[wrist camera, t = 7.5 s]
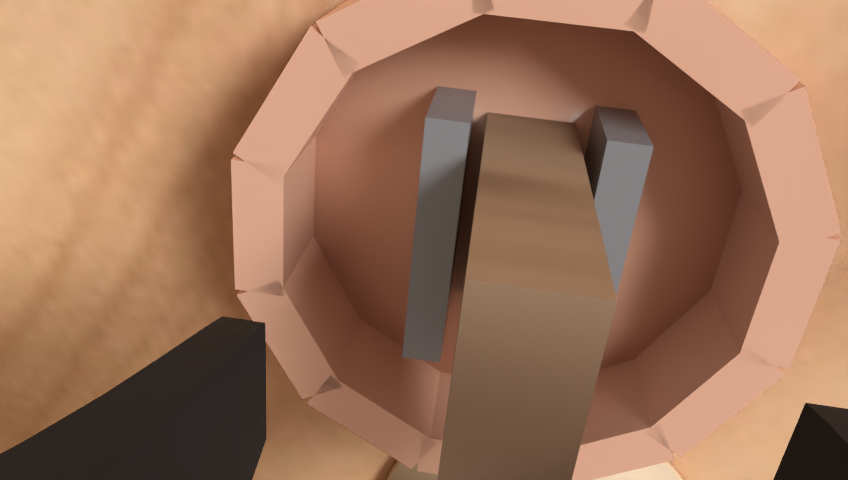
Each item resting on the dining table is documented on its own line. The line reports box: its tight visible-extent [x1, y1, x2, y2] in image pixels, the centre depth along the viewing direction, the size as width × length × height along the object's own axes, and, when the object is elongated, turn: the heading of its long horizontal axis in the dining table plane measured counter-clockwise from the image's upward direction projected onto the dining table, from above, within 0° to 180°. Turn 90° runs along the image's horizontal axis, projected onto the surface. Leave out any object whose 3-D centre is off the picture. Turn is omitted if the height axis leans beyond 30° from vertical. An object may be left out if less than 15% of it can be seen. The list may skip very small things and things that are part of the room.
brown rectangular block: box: [437, 112, 617, 480], centre depth 13 cm, size 4×2×7 cm, turn 175°
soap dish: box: [231, 0, 842, 480], centre depth 15 cm, size 11×11×3 cm
